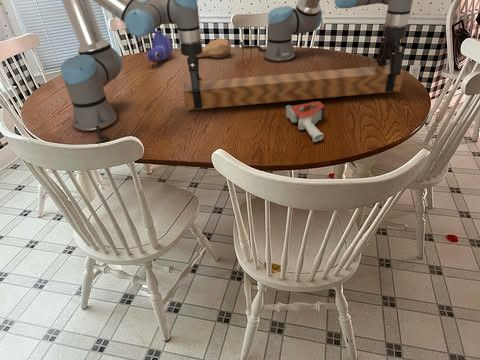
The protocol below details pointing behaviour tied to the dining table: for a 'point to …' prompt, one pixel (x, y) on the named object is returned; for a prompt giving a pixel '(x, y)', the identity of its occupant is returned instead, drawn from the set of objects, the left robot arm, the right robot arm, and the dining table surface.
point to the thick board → (291, 87)
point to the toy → (160, 47)
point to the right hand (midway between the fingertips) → (383, 86)
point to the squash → (216, 49)
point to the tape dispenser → (307, 118)
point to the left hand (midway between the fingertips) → (198, 102)
